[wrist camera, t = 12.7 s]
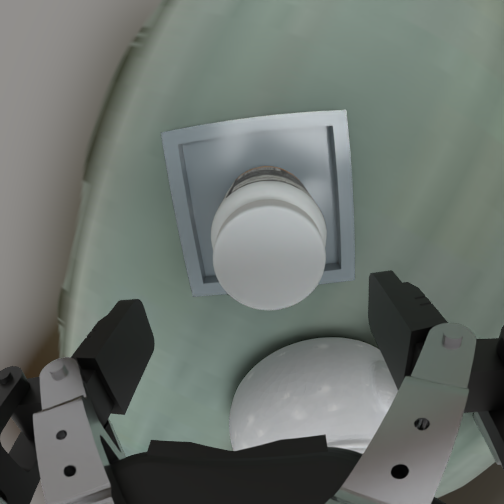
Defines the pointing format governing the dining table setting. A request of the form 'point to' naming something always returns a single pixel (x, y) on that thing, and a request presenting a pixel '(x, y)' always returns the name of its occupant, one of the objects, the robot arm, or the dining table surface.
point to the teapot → (314, 395)
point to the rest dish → (252, 156)
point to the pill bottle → (268, 240)
